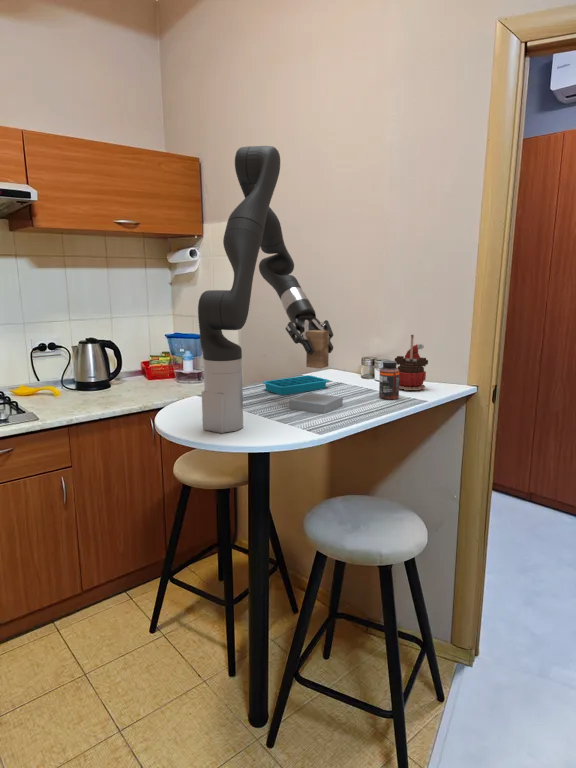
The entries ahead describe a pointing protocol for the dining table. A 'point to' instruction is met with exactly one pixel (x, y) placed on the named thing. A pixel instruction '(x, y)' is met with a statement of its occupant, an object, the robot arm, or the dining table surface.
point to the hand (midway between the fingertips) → (321, 352)
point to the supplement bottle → (389, 381)
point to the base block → (316, 403)
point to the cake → (412, 368)
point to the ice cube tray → (295, 384)
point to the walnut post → (318, 349)
